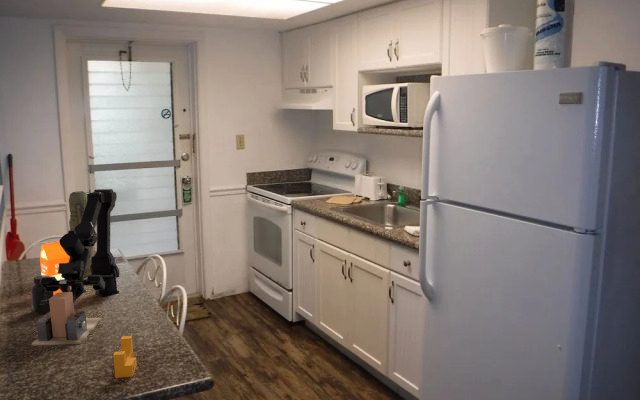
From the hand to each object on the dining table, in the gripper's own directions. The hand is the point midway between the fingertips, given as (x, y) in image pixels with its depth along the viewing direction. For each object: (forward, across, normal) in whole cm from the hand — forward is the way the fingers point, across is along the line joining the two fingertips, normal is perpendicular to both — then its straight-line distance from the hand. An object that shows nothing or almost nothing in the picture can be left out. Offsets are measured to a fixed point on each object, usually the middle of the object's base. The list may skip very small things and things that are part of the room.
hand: (67, 308), depth 173 cm
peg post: (+7, 0, +2) cm, 8 cm away
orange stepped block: (+24, +26, -13) cm, 38 cm away
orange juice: (-21, -18, +32) cm, 42 cm away
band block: (+8, 0, +2) cm, 8 cm away
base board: (+5, 0, +6) cm, 8 cm away
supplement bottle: (-8, -16, +19) cm, 27 cm away
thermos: (-38, -18, +50) cm, 65 cm away
